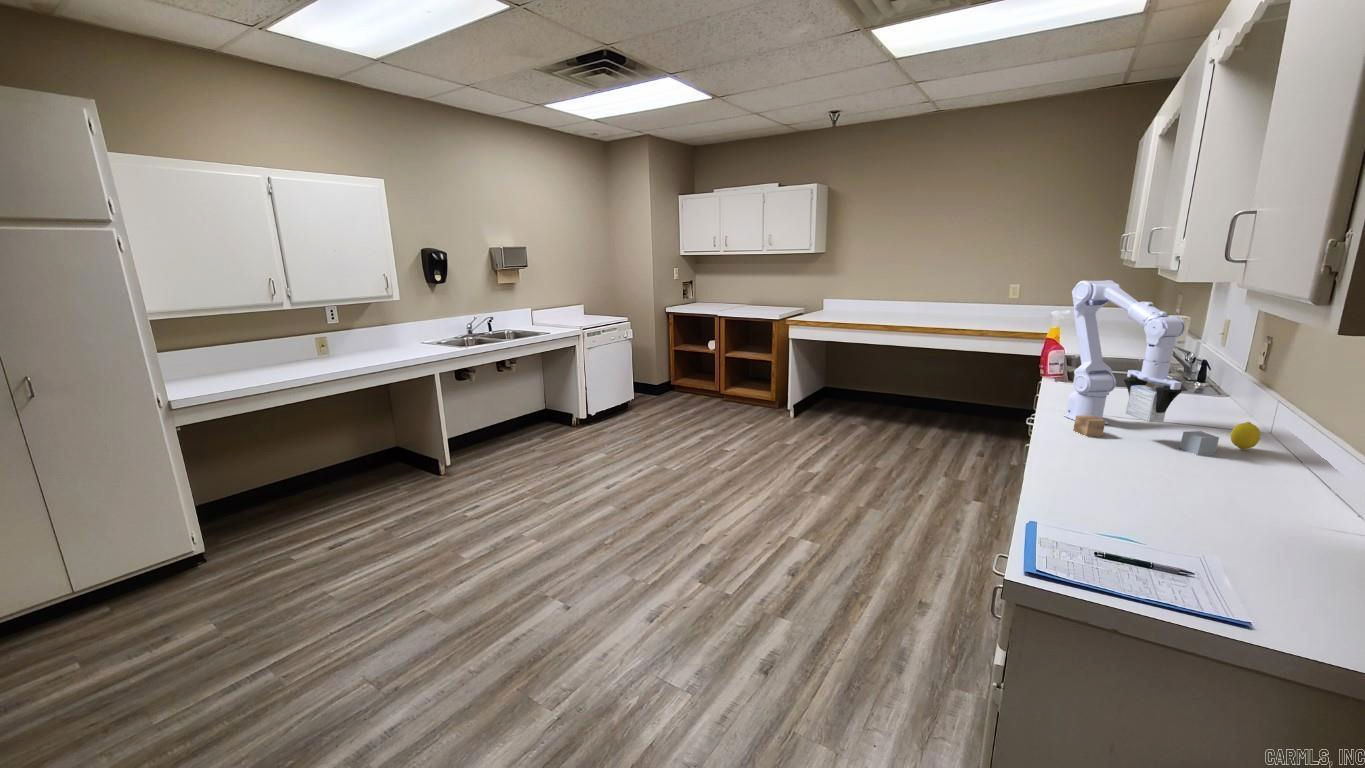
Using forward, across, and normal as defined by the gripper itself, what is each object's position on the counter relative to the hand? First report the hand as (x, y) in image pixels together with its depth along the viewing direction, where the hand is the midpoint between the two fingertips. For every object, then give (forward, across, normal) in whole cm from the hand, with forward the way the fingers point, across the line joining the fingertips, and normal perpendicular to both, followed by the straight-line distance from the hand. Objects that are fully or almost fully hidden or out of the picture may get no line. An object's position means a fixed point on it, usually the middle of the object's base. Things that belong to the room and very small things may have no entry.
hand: (1146, 407), depth 154 cm
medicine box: (+3, 0, 0) cm, 3 cm away
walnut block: (+10, -7, -10) cm, 16 cm away
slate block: (+10, +9, +8) cm, 16 cm away
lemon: (+10, +9, +21) cm, 25 cm away
